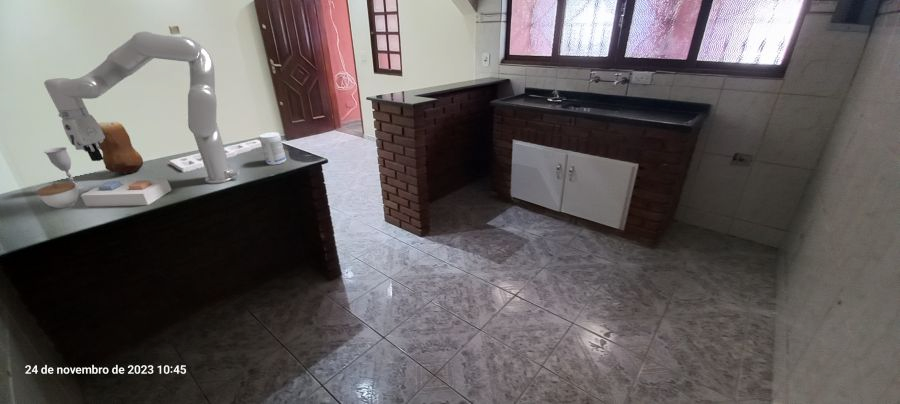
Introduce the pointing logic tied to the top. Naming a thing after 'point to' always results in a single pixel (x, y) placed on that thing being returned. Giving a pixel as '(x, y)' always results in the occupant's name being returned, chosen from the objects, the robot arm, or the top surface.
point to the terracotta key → (139, 185)
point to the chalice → (62, 161)
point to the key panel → (127, 194)
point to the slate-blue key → (110, 185)
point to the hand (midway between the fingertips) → (97, 160)
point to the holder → (192, 163)
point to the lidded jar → (59, 194)
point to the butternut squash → (119, 150)
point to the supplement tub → (272, 148)
